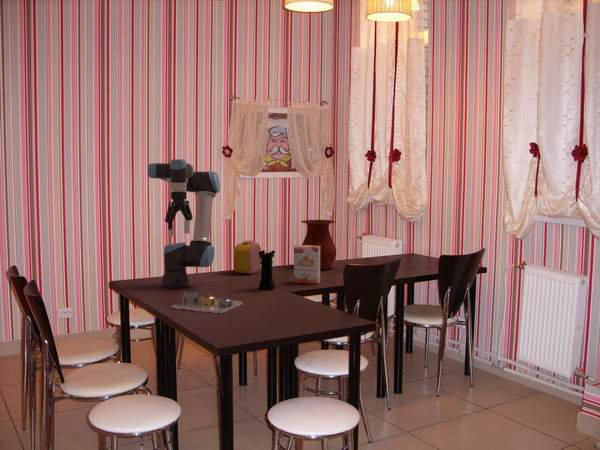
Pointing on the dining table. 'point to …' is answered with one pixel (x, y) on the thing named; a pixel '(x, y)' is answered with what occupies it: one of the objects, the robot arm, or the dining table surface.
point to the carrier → (209, 304)
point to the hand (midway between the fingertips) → (179, 234)
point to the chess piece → (266, 271)
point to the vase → (321, 240)
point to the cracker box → (306, 264)
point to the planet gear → (190, 296)
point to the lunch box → (247, 257)
